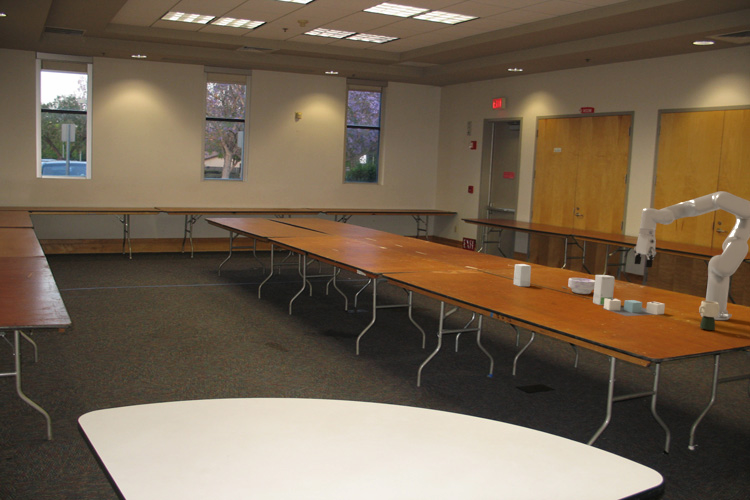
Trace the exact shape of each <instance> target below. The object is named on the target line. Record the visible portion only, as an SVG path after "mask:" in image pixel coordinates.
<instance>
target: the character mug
mask: <svg viewBox="0 0 750 500" xmlns="http://www.w3.org/2000/svg"><path fill="white" fill-rule="evenodd" d="M719 309H720V306H719V303H717V302H713V301H706V300H702V301H701V303H700V306H699V308H698V310H699V311H698V313H699V314H700V316H701V315H703V317H702V316H701V321H700V325H699V328H700V329H703V330H705V331H706V330H708V331H715V330H716V320H715V319H714V317H717V315H718V312H719Z"/></svg>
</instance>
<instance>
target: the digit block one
mask: <svg viewBox="0 0 750 500" xmlns="http://www.w3.org/2000/svg"><path fill="white" fill-rule="evenodd" d="M665 307H666V303H662V302H658V301H649V302H648V301H647V302H646V307H645V309H646V312H648V313H652V314H656V315H664V314H665Z"/></svg>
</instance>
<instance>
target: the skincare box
mask: <svg viewBox="0 0 750 500" xmlns="http://www.w3.org/2000/svg"><path fill="white" fill-rule="evenodd" d="M594 276H595V277H594V280H595V286H594V290H593V298H592V303H593V304H595V305H598V306H604V299H605V298H614V290H615V279H616V278H615V276H613V275H606V274H595V275H594Z"/></svg>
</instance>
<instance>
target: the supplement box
mask: <svg viewBox="0 0 750 500" xmlns="http://www.w3.org/2000/svg"><path fill="white" fill-rule="evenodd" d="M531 272H532V265H528V264H527V263H526V264H525V263H520V264H519V263H518V264H517V263H516V264H514V271H513V285H515V286H518V287H530V286H531V277H532V276H531Z"/></svg>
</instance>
